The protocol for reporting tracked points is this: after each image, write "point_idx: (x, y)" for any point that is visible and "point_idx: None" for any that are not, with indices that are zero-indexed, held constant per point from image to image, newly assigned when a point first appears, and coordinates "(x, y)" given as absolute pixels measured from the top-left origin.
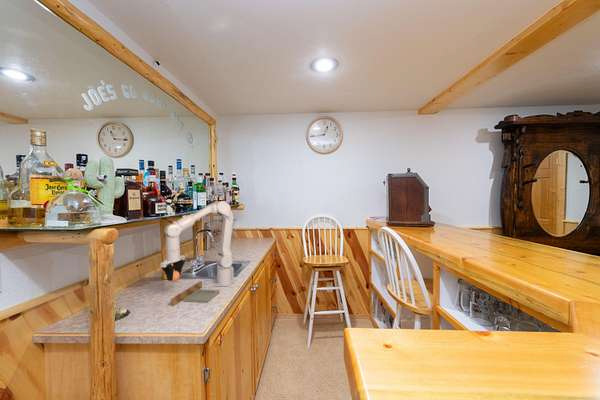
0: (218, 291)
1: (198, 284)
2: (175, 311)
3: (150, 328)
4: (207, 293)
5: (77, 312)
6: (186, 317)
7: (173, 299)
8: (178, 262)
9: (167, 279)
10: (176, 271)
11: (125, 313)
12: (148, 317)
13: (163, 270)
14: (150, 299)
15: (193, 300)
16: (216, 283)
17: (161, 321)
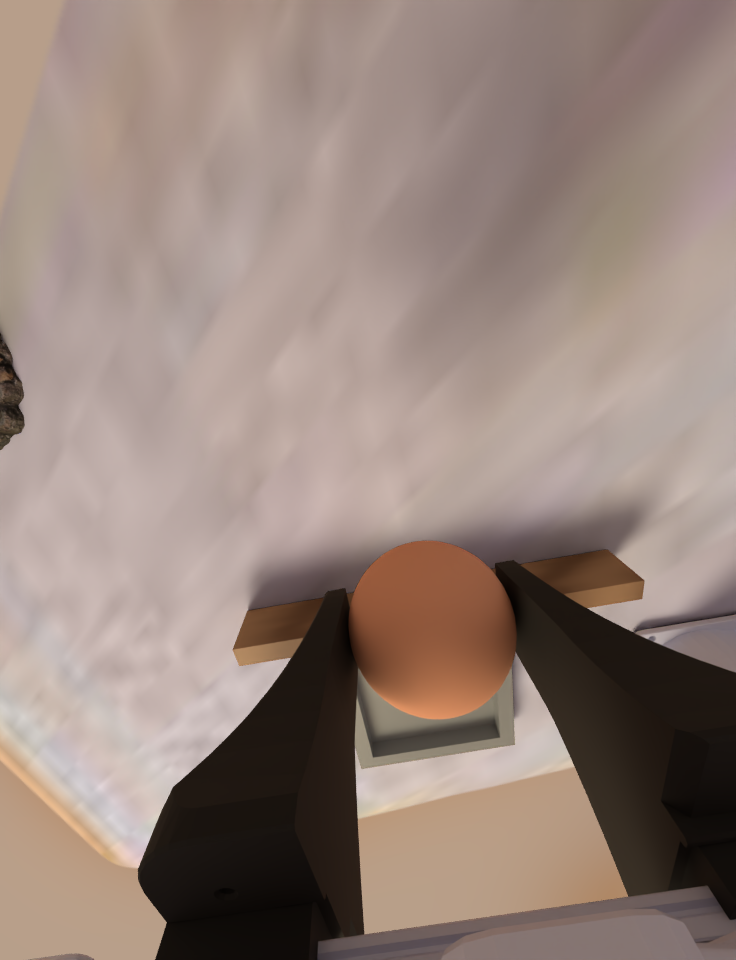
0: (502, 742)
1: (579, 602)
2: (205, 683)
3: (14, 711)
4: None
5: None
6: (185, 765)
7: (239, 663)
8: (660, 878)
9: (323, 602)
10: (460, 715)
11: None
12: (68, 611)
13: (234, 732)
14: (266, 347)
15: None
16: (672, 633)
17: (88, 703)
